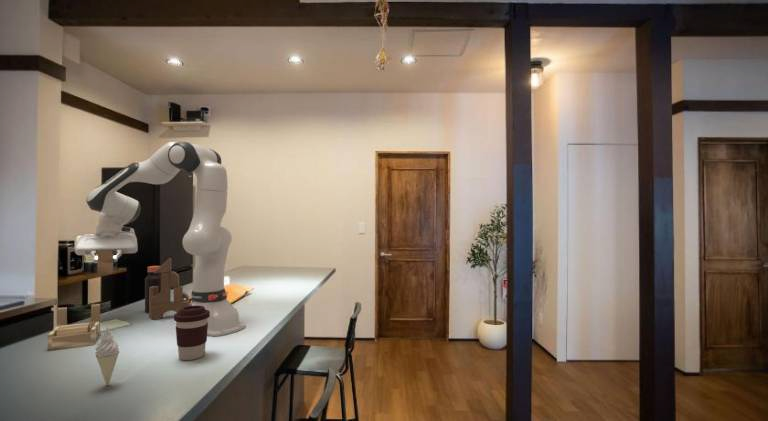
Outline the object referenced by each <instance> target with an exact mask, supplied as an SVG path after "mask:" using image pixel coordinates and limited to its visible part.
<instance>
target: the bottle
mask: <svg viewBox="0 0 768 421" xmlns="http://www.w3.org/2000/svg"><path fill="white" fill-rule="evenodd" d="M160 266H161V265H151V266H147V274H148V275H147V276H145V278H144V313H147V314H149V288H150V287H151V286H158V294H159V293H160V291H161V273H154V272H155V271H156V270H157V269H158V268H159V267H160Z"/></svg>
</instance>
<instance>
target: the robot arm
mask: <svg viewBox="0 0 768 421" xmlns="http://www.w3.org/2000/svg"><path fill="white" fill-rule="evenodd" d="M180 171H182V172H186V173H188V174H192V173H193V174H194V175H195V176H196V193H195V202H194V203H195V206H194V212H193V216H192V219H191V222H190V224H189V228H188V230H187V231H186V232H185V233H184V236H183V237H182V241H181V242H182V248H183V250H185V252H186V253H188V254H190V255H193V256H197V260H196V264H195V266H194V268H193V271H192V290H191V294H190V296H191V301H192V302H191V305H190V306H195V305H199V306H204V308H205V310H209V311H210V316H209V317H208V319H207V322H208V329H207V336H209V337H219V336H225V335H229V334H232V333H236V332H239V331H241V330H243V329H245V328H246V327H247V326H246V323H243V322H241V321H240V315H239V311H238V309H237V308H235V307H234V306H233V304H232V303H231V302H230V301H229V300H228V294H229V292H228V291H226V288H225V266H226V262H227V261H226V260H227V256H228V251H229V247H230V245H231V243H232V240H233V239H232V233H231V232H230V230H228V229H227V228H226V227H224V226H221V223H222V221H223V217H224V215H225V214H226V212H227V205H228V204H227V202H228V187H229V186H228V174H227V168H226V167H225V166H224V165H222V158H221V156H220V154H219V153H218V152H217V151H216V150H214V149H212V148H208V147H205V146H203V145H200V144H197V143H191V142H187V141H178V142H177V141H169V142H166V143H165V144H164V145H162V146H161V147H160V148H158V150H157V151H155V152H154V153H153V154H152V155H151V156H150V157H148V158H147V159H145V160H143V161H140V162H132V163H129V164H128V165H127V166H125V167H124V168H123V169H121V170H120V171H118V172H117V173H116V174H114V175H113V176H112V177H110V178H108V179H106V181H104V182H103V183H101V184H99V185H98V186H95V187H94V188H93V189H92V190H90V192H89V193H88V194H87V196H86V199H85V200H86V204H87V205H88V208H89V209H90V210H92V211H94V212H95V211H96V212H98V214H99V215H98V220H97V222H98V224H97V226H96V230H95V231H96V232H95V233H89V234H88V233H87V234H86V233H84V234H81V235H78V236H76V238H75V245H74V253H75V254H76V255H77V256H91V258H92V259H93V263H94V264H95V263H98V250H108V249H114V256H113V262H115V263H116V262H118V259H119V258H120V257H121V256H122V255H124V254H136V253H137V252H138V251H139V250H138V248H139V247H138V238H137V236H136V232H135V229H134V228H132V227H127V225H128V224H130V223H133V222H135V220H137V218H138V217H139V216H140V213H141V204H140V202H139V200H137V199H135V198H133V197H130V196H128V195H125V194H123V193H120V192H118V190H120V189H121V188H122V187H124V186H125V185H127V184H129V183H137V182H138V183H146V184H151V185H164V184H166V183H169V182H170V181H172V180H173V179H174V178H175V176H176V175H177V174H178V173H179V172H180ZM124 225H126V226H124ZM115 254H116V255H115Z"/></svg>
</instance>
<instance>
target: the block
mask: <svg viewBox="0 0 768 421" xmlns="http://www.w3.org/2000/svg"><path fill="white" fill-rule="evenodd" d="M97 256H98V262H97V270H96V271H97V272H96V273H97V275H111V274H113V273H114V262H113V256H115V254H114V249H108V250H98V254H97Z"/></svg>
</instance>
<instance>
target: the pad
mask: <svg viewBox="0 0 768 421" xmlns="http://www.w3.org/2000/svg"><path fill="white" fill-rule="evenodd" d="M129 325H130V326H132V323H129V322H126V321H123V320H121V319H116V318H115V319H111V320H107V321H102V322H101V321H100V333H103V332H104V333H105V331H106V328H107V327H108V329H109V331H111V330H116V328H117V329H121V328H125V327H130V326H129ZM90 327H91V324H90ZM120 327H121V328H120Z"/></svg>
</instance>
